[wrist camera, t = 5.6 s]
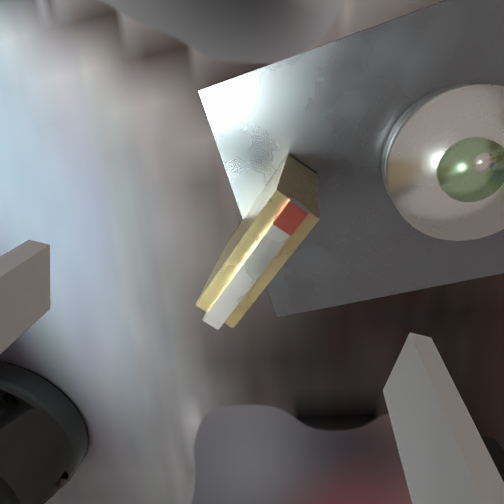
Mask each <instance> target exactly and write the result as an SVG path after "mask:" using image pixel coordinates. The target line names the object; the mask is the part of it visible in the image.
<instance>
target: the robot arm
mask: <svg viewBox="0 0 504 504" xmlns="http://www.w3.org/2000/svg"><path fill="white" fill-rule="evenodd" d="M49 309H50V245H49V244H44V243H40V242H36V241H32V240H28V241H26V242H24V243H23V244H21V245H19V246H18V247H16V248H14V249H13V250H11V251H9V252H7V253H6V254H4V255H2V256H1V257H0V354H1V353H2V352H3V351H4V350H5V349H7V348H8V347H9V346H10V345H11V344H12V343H13V342H14V341H15V340H16V339H17V338H19V337H20V336H21V335H22V334H23V333H24V332H25V331H26V330H27V329H28V328H30V327H31V326H32V325H33V324H34V323H35V322H36V321H37V320H38V319H39V318H40V317H42V316H43V315H44V314H45V313H46V312H47V311H48V310H49ZM383 393H384V397H385V401H386V405H387V409H388V413H389V416H390V420H391V424H392V428H393V431H394V436H395V439H396V443H397V447H398V451H399V455H400V458H401V462H402V466H403V470H404V473H405V478H406V482H407V485H408V489H409V493H410V497H411V501H412V504H504V449H503V448H502V447H501V446H500V445H499V444H498V443H497V442H496V441H495V439H493V438H489V437H485V436H481V435H480V434H479V432H478V430H477V428H476V426H475V424H474V422H473V420H472V418H471V416H470V414H469V412H468V410H467V408H466V406H465V404H464V402H463V400H462V398H461V396H460V394H459V392H458V390H457V388H456V386H455V384H454V382H453V380H452V378H451V376H450V374H449V372H448V370H447V368H446V366H445V364H444V362H443V360H442V358H441V356H440V354H439V352H438V350H437V348H436V346H435V344H434V342H433V340H432V338H431V337H427V336H423V335H419V334H415V333H409V335H408V337H407V339H406V341H405V344H404V346H403V348H402V350H401V352H400V354H399V357H398V359H397V361H396V363H395V365H394V367H393V370H392V372H391V374H390V376H389V378H388V380H387V383H386V385H385V387H384V389H383ZM87 447H88V436H87V430H86V427H85V424H84V422H83V420H82V418H81V416H80V414H79V412H78V411H77V409H76V408H75V407H74V405H73V404H72V403H71V402H70V401H69V399H68V398H67V397H66V396H65V395H64V394H63V393H62V392H60V391H59V390H58V389H57V388H56V387H54V386H53V385H52V384H50V383H49V382H48V381H46V380H45V379H43V378H41V377H40V376H38V375H36V374H34V373H32V372H30V371H28V370H25V369H23V368H20V367H18V366H14V365H11V364H7V363H2V362H0V504H44V503H46V502H47V501H48V500H49V499H50V498H51V497H52V496H53V495H54V494H55V493H56V492H57V491H58V490H59V489H60V488H62V487H63V486H64V485H65V484H66V483H67V482H68V481H69V480H70V478H71V477H72V476H73V474H74V473H75V471H76V469H77V468H78V466H79V464H80V463H81V461H82V459H83V458H84V456H85V454H86V451H87Z"/></svg>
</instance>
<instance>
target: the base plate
mask: <svg viewBox="0 0 504 504" xmlns="http://www.w3.org/2000/svg"><path fill="white" fill-rule="evenodd" d="M198 92H199V95H200V98H201V100H202V103H203V106H204V109H205V112H206V115H207V118H208V121H209V124H210V126H211V129H212V132H213V135H214V138H215V141H216V144H217V147H218V150H219V152H220V155H221V158H222V161H223V164H224V167H225V170H226V173H227V175H228V178H229V181H230V184H231V187H232V190H233V193H234V196H235V199H236V201H237V204H238V207H239V210H240V213H241V216H242V219H244V217H245V216H246V214H247V213H248V211H249V210H250V208H251V207H252V206H253V204H254V203H255V201H256V200H257V198H258V197H259V195H260V194H261V192H262V191H263V190H264V188H265V187H266V185H267V184H268V182H269V181H270V179H271V178H272V176H273V175H274V174H275V172H276V171H277V169H278V168H279V166H280V165H281V163H282V162H283V160H284V159H285V158H286V156H287V155H290V156H291V157H293V158H294V159H296V160H297V161H298V162H300V163H301V164H303V165H304V166H306V167H307V168H308V169H310V170H311V171H313V172H314V173H316V174H317V175H318V191H319V216H320V219H319V221H318V222H317V223H316V224H315V226H314V227H313V228H312V230H311V231H310V232H309V233H308V235H307V236H306V237H305V238H304V240H303V241H302V242H301V243H300V245H299V246H298V247H297V248H296V250H295V251H294V252H293V253H292V255H291V256H290V257H289V259H288V260H287V261H286V262H285V264H284V265H283V266H282V267H281V269H280V270H279V271H278V272H277V274H276V275H275V276H274V277H273V279H272V280H271V281H270V283H269V284H268V285H267V286H266V288H267V291H268V294H269V297H270V300H271V302H272V305H273V308H274V311H275V314H276V317H282V316H287V315H292V314H297V313H302V312H307V311H313V310H318V309H323V308H328V307H333V306H338V305H343V304H348V303H354V302H359V301H364V300H369V299H374V298H379V297H384V296H389V295H395V294H400V293H405V292H410V291H415V290H420V289H425V288H430V287H435V286H441V285H446V284H451V283H456V282H461V281H466V280H471V279H476V278H482V277H487V276H492V275H497V274H502V273H504V0H446V1H443V2H441V3H438V4H435V5H432V6H430V7H427V8H424V9H421V10H419V11H416V12H413V13H410V14H408V15H405V16H402V17H399V18H397V19H394V20H391V21H388V22H386V23H383V24H380V25H378V26H375V27H372V28H369V29H367V30H364V31H361V32H358V33H356V34H353V35H350V36H347V37H345V38H342V39H339V40H336V41H334V42H331V43H328V44H325V45H323V46H320V47H317V48H315V49H312V50H309V51H306V52H304V53H301V54H298V55H295V56H293V57H290V58H287V59H284V60H282V61H279V62H276V63H273V64H271V65H268V66H265V67H263V68H260V69H257V70H254V71H252V72H249V73H246V74H243V75H241V76H238V77H235V78H232V79H230V80H227V81H224V82H221V83H219V84H216V85H213V86H210V87H208V88H205V89H202V90H200V91H198Z"/></svg>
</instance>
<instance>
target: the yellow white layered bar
mask: <svg viewBox="0 0 504 504" xmlns="http://www.w3.org/2000/svg"><path fill="white" fill-rule="evenodd" d="M319 219H320V216H319V191H318V175H317V174H316V173H314V172H313V171H311V170H310V169H308V168H307V167H306V166H304V165H303V164H301V163H300V162H298V161H297V160H296V159H294V158H293V157H291V156H290V155H287V156H286V158H285V159H284V160H283V162H282V163H281V165H280V166H279V168H278V169H277V171H276V172H275V174H274V175H273V176H272V178H271V179H270V181H269V182H268V184H267V185H266V187H265V188H264V190H263V191H262V192H261V194H260V195H259V197H258V198H257V200H256V201H255V203H254V204H253V206H252V207H251V208H250V210H249V211H248V213H247V214H246V216H245V217H244V219H243V220H242V222H241V223H240V224H239V226H238V227H237V229H236V230H235V232H234V233H233V235H232V236H231V238H230V239H229V240H228V242H227V244H226V246H225V248H224V250H223V252H222V254H221V256H220V258H219V259H218V261H217V263H216V265H215V267H214V269H213V271H212V273H211V275H210V277H209V279H208V281H207V283H206V285H205V287H204V289H203V291H202V293H201V294H200V296H199V298H198V300H197V302H196V304H195V305H196V306H198V307H199V308H201V309H202V310H204V311H206V313H205V315H204V318H203V321H204V322H206V323H207V324H209V325H211V326H212V327H214V328H216V329H217V330H219V328H220V327H221V326H222V325H223V323H225V324H226V325H228V326H230V327H231V328H234V327H235V325H236V324H237V323H238V322H239V320H240V319H241V318H242V317H243V315H244V314H245V313H246V312H247V310H248V309H249V308H250V306H251V305H252V304H253V303H254V301H255V300H256V299H257V298H258V296H259V295H260V294H261V293H262V291H263V290H264V289H265V288H266V286H267V285H268V284H269V283H270V281H271V280H272V279H273V277H274V276H275V275H276V274H277V272H278V271H279V270H280V269H281V267H282V266H283V265H284V264H285V262H286V261H287V260H288V259H289V257H290V256H291V255H292V253H293V252H294V251H295V250H296V248H297V247H298V246H299V245H300V243H301V242H302V241H303V240H304V238H305V237H306V236H307V235H308V233H309V232H310V231H311V230H312V228H313V227H314V226H315V224H316V223H317V222H318V221H319Z"/></svg>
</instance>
